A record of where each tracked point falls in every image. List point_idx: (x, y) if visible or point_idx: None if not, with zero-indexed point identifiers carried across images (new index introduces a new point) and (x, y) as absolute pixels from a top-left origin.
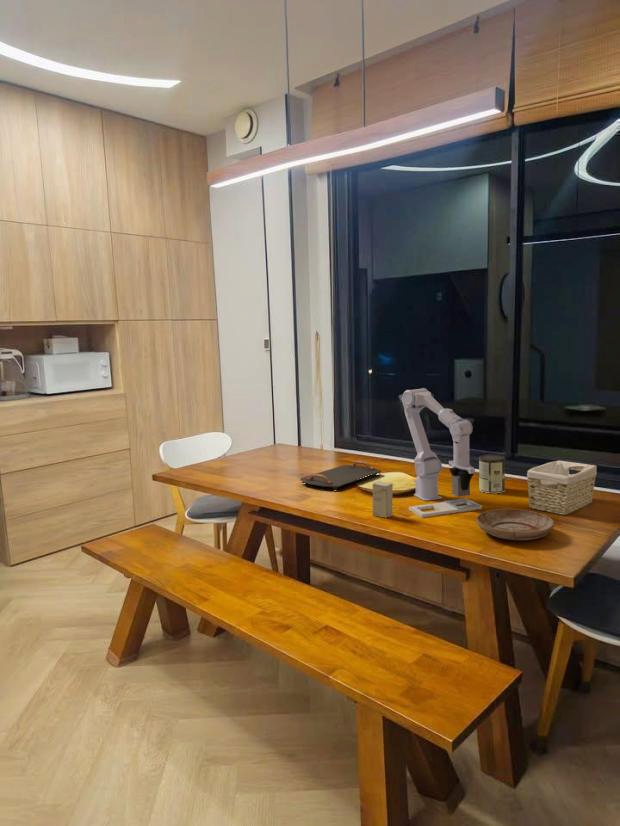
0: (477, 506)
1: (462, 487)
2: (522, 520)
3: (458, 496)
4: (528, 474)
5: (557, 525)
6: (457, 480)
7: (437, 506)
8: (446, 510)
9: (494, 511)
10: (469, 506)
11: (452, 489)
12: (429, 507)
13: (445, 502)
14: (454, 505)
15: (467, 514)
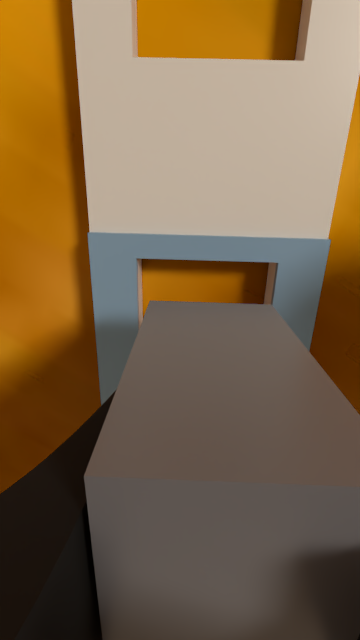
0: (103, 393)
1: (107, 400)
2: None
3: (150, 305)
4: None
5: None
6: (128, 425)
7: (243, 87)
8: (91, 101)
9: None
10: (102, 340)
11: (283, 324)
12: (304, 20)
13: (304, 238)
14: (174, 250)
15: (31, 263)
